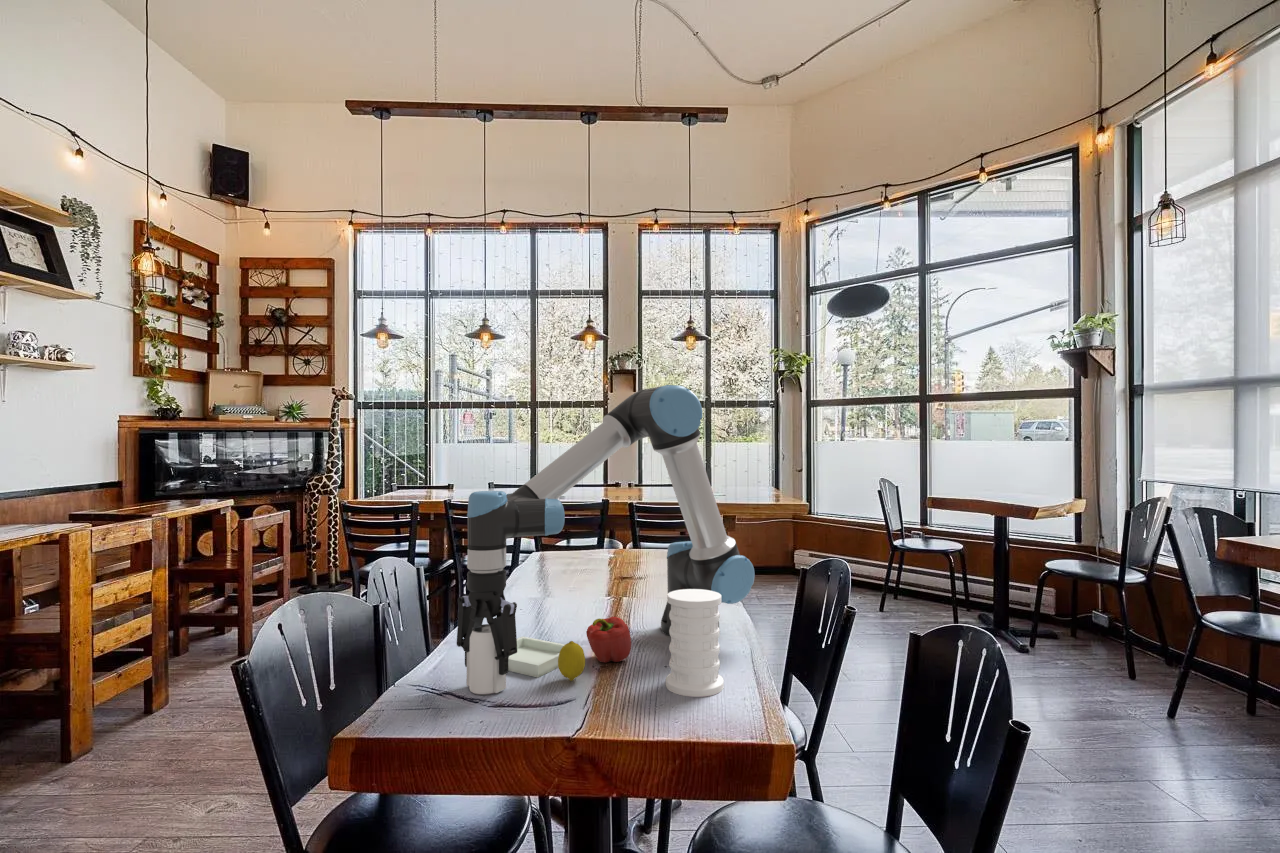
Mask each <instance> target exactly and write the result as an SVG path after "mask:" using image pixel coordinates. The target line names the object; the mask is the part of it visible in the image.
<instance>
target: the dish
mask: <svg viewBox="0 0 1280 853" xmlns="http://www.w3.org/2000/svg"><path fill="white" fill-rule="evenodd" d="M564 645H565V644H564V643H559V642H555V641H548V640H545V639H544V640H543V639H538V638H533V637H530V636H529V637H528V636H520V637H518V638H517V653H515V654H513V655H511V656H509V658H508V672H511V673H512V672H513V673H515V674H516V673H517V674H521V675H525V676H529V677H535V678H541V677H543V676H545V675H546V674H549V673H551V672H553V671H554V670H557V669H559V667H558V657H559V653H560V650H561V648H562V647H563V646H564Z"/></svg>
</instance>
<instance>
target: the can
mask: <svg viewBox="0 0 1280 853" xmlns="http://www.w3.org/2000/svg"><path fill="white" fill-rule="evenodd" d="M502 651H503V650H502ZM494 657H497V653H496V649H495V645H494V640H493V636H492V631H491V628H490V624H488V623H486V624H485V623H484V624H483V623H482V625H481V626H480V627H479V628H476V629H474V628H472V633H471V635H470V652H469V686H468V687H469V691H470V692H471V694H474V695H478V696H487V695H488V696H489V695H492V694H493V695H494V694H495V693H494Z"/></svg>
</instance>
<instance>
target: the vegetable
mask: <svg viewBox="0 0 1280 853" xmlns="http://www.w3.org/2000/svg"><path fill="white" fill-rule="evenodd" d="M585 632H586V633H585V634H586V638H587V641H588V643H589V646H590V649H591V651H592V652H593V654H594V656H595V658H596V660H597V661H598V662H600V663H603V664H604V663H609V662H611V661H612V662H614V663H619V662H622V661H624V660H626V659H627V658H628V656H629V655H630V653H631V650H632V637H631V632H630V629H629V626H628V625H627V623H626V622H625V621H624V620H623V619H622V618H620V617H618V616H613V615H612V616H610V617H608V618H596V619H595V620H593V622H592V624H590V625H589V626H588V627H587V629H586V631H585Z"/></svg>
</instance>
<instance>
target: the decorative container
mask: <svg viewBox="0 0 1280 853" xmlns="http://www.w3.org/2000/svg"><path fill="white" fill-rule="evenodd" d="M666 596H667V597H666V598H667V600H666V603H667V602H668V603H669V604H671V610H670V613H669V617H670V620H671V626H670V629H669V633H670V635H669V636H670V642H669V646H668V649H669V652H670V655H671V656H670V658H669V663H668V665H669V669H670V670H671V671H670V673H669V674H668V675H667V676H666V677H665V687H666V689H667V690H668V691H669V692H671V693H673V694H675V695H680V696H682V697H687V698H688V697H689V698H690V697H691V698H704V697H710V696H714V695H717V694H719V693H721V692H722V691H723V690H724V687H725V684H724V683H725V682H724V681H725V680H724V678H723V676H721V675H720V674H719V671H720V666H721V663H720V659H719V654H720V650H721V645H720V643H719V638H720V634H721V630H720V626H719V627H718V621H719V622H720V617H721V614H720V611H719V605H721V604H722V603H721V594H720V593H717V592H714V591H710V590H703V589H682V590H675V591H672V592H670V593H668V592H667V595H666Z"/></svg>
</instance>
